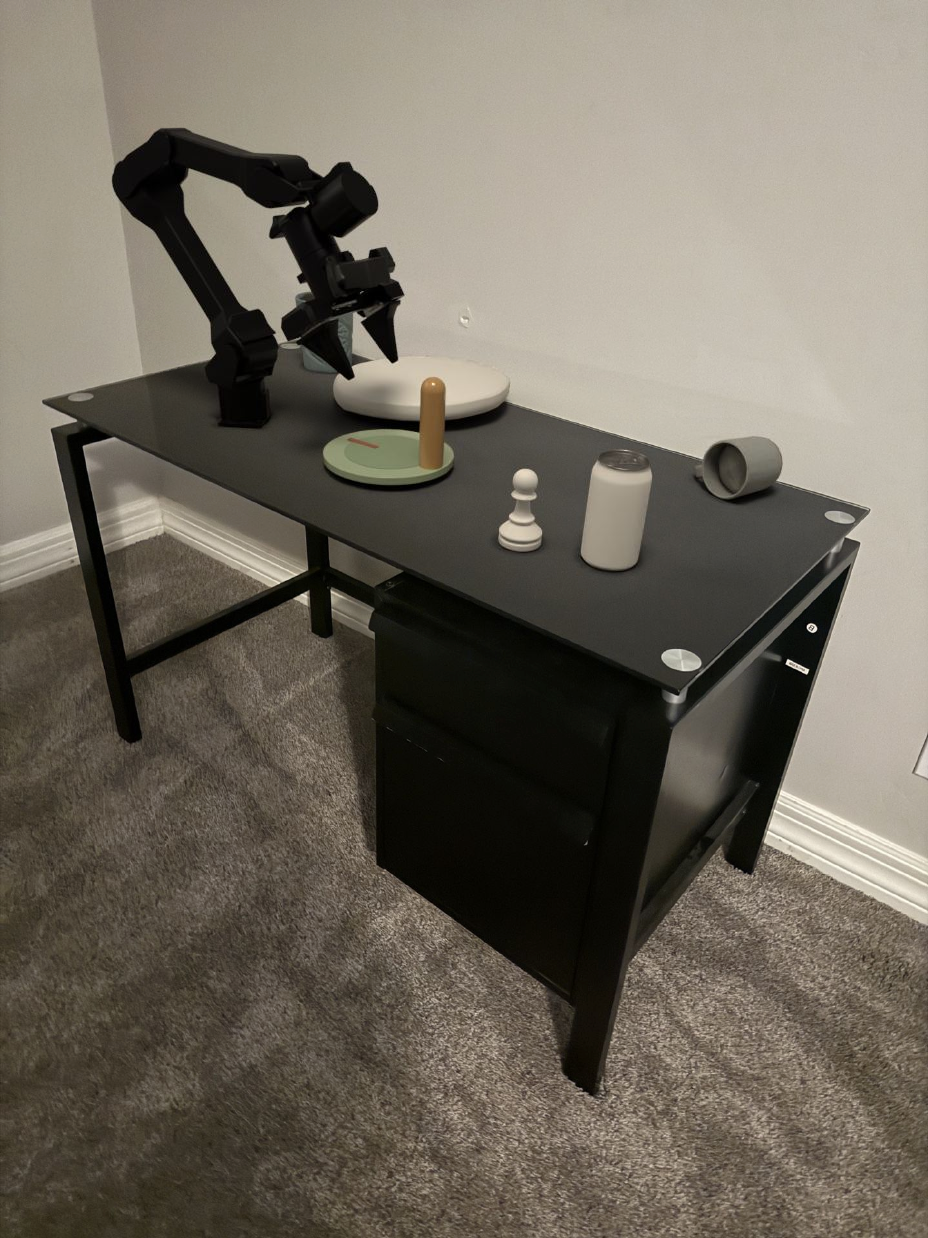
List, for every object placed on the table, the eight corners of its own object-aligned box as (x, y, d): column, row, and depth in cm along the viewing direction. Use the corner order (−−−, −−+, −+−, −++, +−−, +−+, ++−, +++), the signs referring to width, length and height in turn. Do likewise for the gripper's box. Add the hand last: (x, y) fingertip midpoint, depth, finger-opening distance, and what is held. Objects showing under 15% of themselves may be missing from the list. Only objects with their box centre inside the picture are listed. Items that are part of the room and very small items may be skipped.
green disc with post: (295, 461, 116) (290, 366, 109) (378, 426, 128) (378, 340, 122) (401, 497, 108) (402, 397, 101) (478, 456, 121) (484, 365, 114)
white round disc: (312, 394, 128) (351, 347, 150) (319, 436, 131) (355, 385, 154) (503, 389, 125) (513, 342, 147) (504, 433, 128) (514, 380, 151)
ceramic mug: (780, 495, 116) (793, 440, 112) (740, 508, 112) (753, 451, 108) (718, 469, 124) (728, 416, 120) (678, 480, 119) (688, 426, 115)
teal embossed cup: (331, 377, 151) (329, 305, 144) (286, 366, 155) (282, 296, 149) (366, 364, 158) (365, 295, 152) (322, 354, 162) (319, 287, 156)
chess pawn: (539, 533, 103) (547, 462, 99) (542, 553, 99) (550, 480, 94) (497, 531, 103) (503, 460, 98) (498, 551, 99) (504, 477, 94)
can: (575, 545, 101) (588, 447, 95) (629, 545, 102) (646, 448, 95) (586, 572, 96) (600, 470, 89) (643, 573, 96) (662, 471, 90)
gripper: (306, 234, 99) (369, 363, 103) (404, 215, 112) (457, 330, 116) (252, 278, 107) (312, 397, 110) (350, 256, 120) (401, 362, 123)
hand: (374, 370), depth 115 cm, fingers open, 9 cm apart
